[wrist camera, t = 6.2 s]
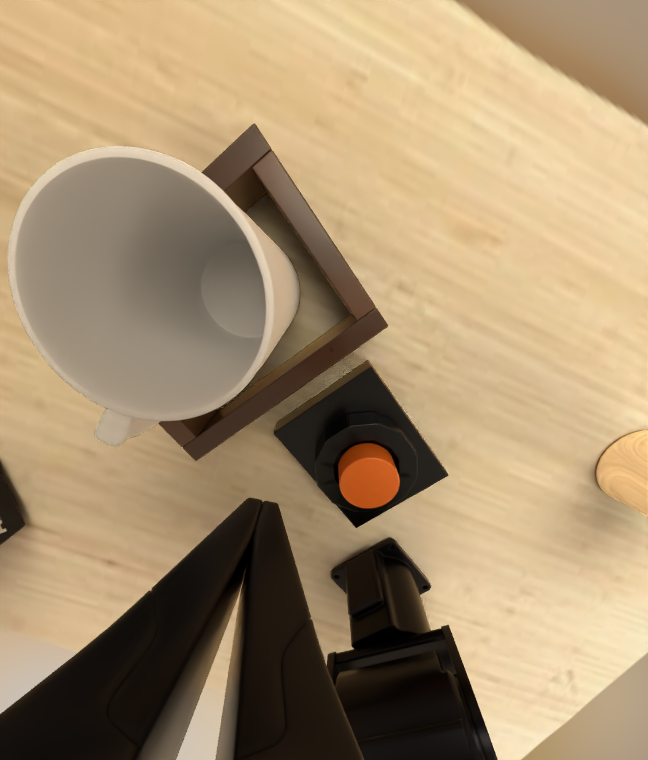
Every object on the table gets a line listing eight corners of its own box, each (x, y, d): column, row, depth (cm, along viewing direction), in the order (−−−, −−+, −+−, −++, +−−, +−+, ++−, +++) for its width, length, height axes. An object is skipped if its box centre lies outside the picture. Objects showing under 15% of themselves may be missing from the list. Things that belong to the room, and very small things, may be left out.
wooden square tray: (376, 318, 20) (388, 326, 16) (217, 431, 22) (195, 461, 18) (270, 158, 17) (254, 122, 13) (103, 308, 19) (49, 314, 16)
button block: (440, 462, 23) (459, 492, 20) (354, 512, 24) (358, 548, 21) (367, 359, 20) (376, 374, 17) (276, 422, 22) (268, 446, 19)
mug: (228, 209, 18) (50, 72, 6) (324, 272, 19) (324, 254, 7) (162, 351, 20) (-47, 437, 9) (250, 399, 21) (165, 532, 10)
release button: (404, 472, 20) (411, 489, 18) (358, 499, 20) (361, 518, 19) (373, 432, 19) (378, 446, 17) (327, 461, 19) (327, 478, 18)
